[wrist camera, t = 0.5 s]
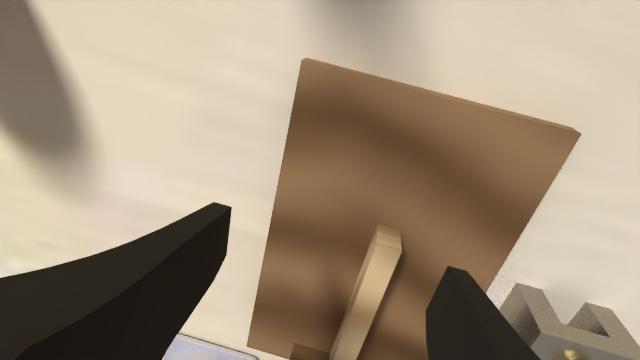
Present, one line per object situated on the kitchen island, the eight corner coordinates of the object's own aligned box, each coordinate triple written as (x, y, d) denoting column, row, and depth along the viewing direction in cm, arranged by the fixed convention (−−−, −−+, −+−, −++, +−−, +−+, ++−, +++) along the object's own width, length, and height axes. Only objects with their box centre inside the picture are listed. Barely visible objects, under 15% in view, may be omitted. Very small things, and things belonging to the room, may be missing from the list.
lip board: (419, 386, 28) (426, 450, 24) (250, 335, 28) (229, 389, 24) (571, 127, 18) (626, 161, 14) (305, 57, 18) (284, 70, 14)
